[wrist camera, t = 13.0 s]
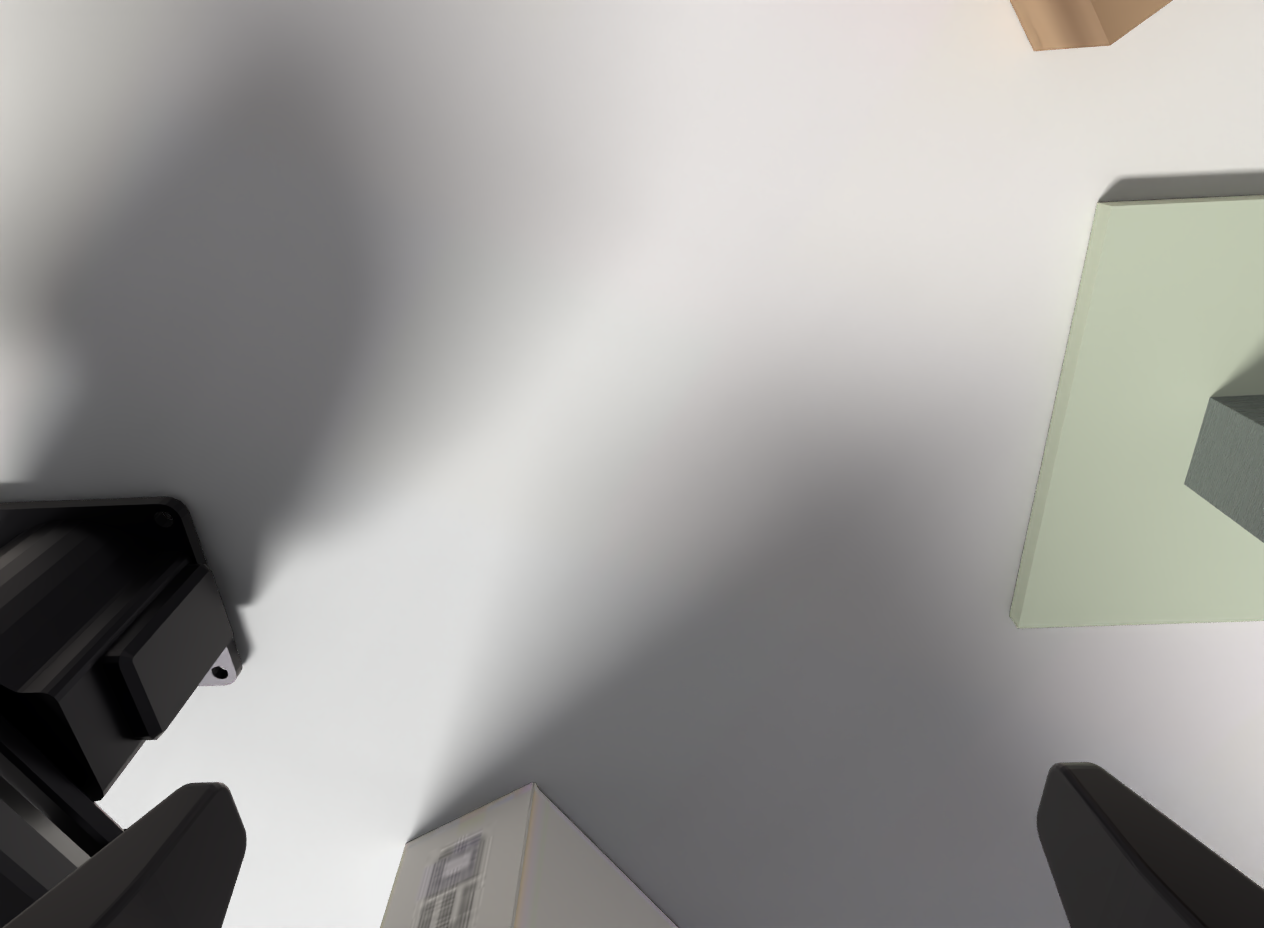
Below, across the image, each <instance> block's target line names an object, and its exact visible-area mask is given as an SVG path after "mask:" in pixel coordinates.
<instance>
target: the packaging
mask: <svg viewBox="0 0 1264 928" xmlns="http://www.w3.org/2000/svg"><path fill="white" fill-rule="evenodd" d="M380 928H678V927H677V926H676V925H675V924H674V923H673V922H672V921H671V920H670V919H669V918H668V917H667V916H666V915H665V914H664V913H663V912H662V911H661V910H660V909H659V908H658V907H657V906H656V905H655V904H654V903H653V902H652V901H651V900H650V899H649V898H648V897H647V896H646V895H645V894H644V893H643V892H642V891H641V890H640V889H639V888H638V887H637V886H636V885H635V884H634V883H633V882H632V881H631V880H630V879H629V878H628V877H627V876H626V875H625V874H624V873H623V872H622V871H621V870H620V869H619V868H618V867H617V866H616V865H615V864H614V863H613V862H612V861H611V860H610V859H609V858H608V857H607V856H606V855H605V854H603V853H602V852H601V851H600V850H599V849H598V848H597V847H596V846H595V845H594V844H593V843H592V842H591V841H590V840H589V839H588V838H587V837H586V836H585V835H584V834H583V833H582V832H581V831H580V830H579V829H578V828H577V827H576V826H575V825H574V824H573V823H572V822H571V821H570V820H569V819H568V818H567V817H566V816H565V815H564V814H563V813H562V812H561V811H560V810H559V809H558V808H557V807H556V806H555V805H554V804H553V803H552V802H551V801H550V800H549V799H548V798H547V797H546V796H545V795H544V794H543V793H542V792H541V791H540V790H539V789H538V787H537V785H536V783H533V782H532V783H530V784H528V785H526V786H524V787H522V788H519V789H517V790H515V791H513V792H511V793H509V794H507V795H505V796H503V797H501V798H499V799H497V800H495V801H493V802H491V803H488V804H486V805H484V806H482V807H480V808H478V809H476V810H474V811H472V812H470V813H468V814H466V815H464V816H462V817H460V818H457V819H455V820H453V821H451V822H449V823H447V824H445V825H443V826H441V827H439V828H437V829H435V830H433V831H431V832H429V833H426V834H424V835H422V836H420V837H418V838H416V839H414V840H412V841H410V842H408V843H406V845H405V848H404V851H403V854H402V858H401V861H400V864H399V868H398V871H397V874H396V877H395V881H394V884H393V887H392V890H391V894H390V897H389V900H388V904H387V907H386V910H385V913H384V917H383V920H382V923H381V926H380Z"/></svg>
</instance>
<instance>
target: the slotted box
mask: <svg viewBox="0 0 1264 928" xmlns="http://www.w3.org/2000/svg"><path fill="white" fill-rule="evenodd" d="M1171 1H1172V0H1010V2H1011V4H1012V6H1013V8H1014V10H1015V12H1016V14H1017V16H1018V19H1019V21H1020V23H1021V25H1022V27H1023V29H1024V31H1025V33H1026V35H1027V37H1028V40H1029V42H1030V44H1031V46H1032V48H1033V50H1034V51H1042V50H1056V49H1069V48H1082V47H1095V46H1109V45H1111V44H1113V43H1114V42H1116V41H1117V40H1118V39H1120V38H1121V37H1122V36H1124V35H1125V34H1127V33H1128V32H1129V31H1131V30H1132V29H1134V28H1135V27H1136V26H1138V25H1139V24H1141V23H1142V22H1143V21H1145V20H1146V19H1147V18H1149V17H1150V16H1152V15H1153V14H1154V13H1156V12H1157V11H1159V10H1160V9H1161V8H1163V7H1164V6H1165V5H1167V4H1168V3H1170V2H1171Z"/></svg>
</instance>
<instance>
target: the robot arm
mask: <svg viewBox="0 0 1264 928" xmlns="http://www.w3.org/2000/svg"><path fill="white" fill-rule="evenodd" d="M163 512H166V513H168V514H169V515H171V517H172V518H173V520H171V519H168V518H167V517H165V515H164V514H163ZM220 667H223V668H225V669H226V670H224V669H222V668H220ZM241 670H242V663H241V660H240V657H239V654H238V651H237V648H236V645H235V642H234V640H233V632H232V629H231V626H230V623H229V620H228V617H227V614H226V611H225V609H224V606H223V603H222V600H221V597H220V594H219V591H218V588H217V586H216V583H215V580H214V577H213V574H212V571H211V570H210V569H209V568H208V565H207V562H206V559H205V556H204V553H203V550H202V548H201V545H200V542H199V539H198V536H197V533H196V530H195V527H194V525H193V522H192V519H191V516H190V513H189V511H188V509H187V507H186V506H185V505H184V504H183V503H182V502H181V501H179V500H177V499H175V498H172V497H146V498H119V499H91V500H64V501H37V502H10V503H0V928H221V927H222V924H223V921H224V918H225V915H226V911H227V908H228V905H229V902H230V899H231V896H232V893H233V889H234V886H235V883H236V880H237V877H238V874H239V871H240V868H241V864H242V861H243V858H244V854H245V850H246V831H245V828H244V825H243V823H242V820H241V818H240V815H239V812H238V810H237V807H236V805H235V802H234V800H233V797H232V795H231V792H230V790H229V788H228V787H227V786H226V785H224V784H223V783H219V782H207V783H189V784H186V785H184V786H182V787H180V788H179V789H177V790H176V791H175V792H173V793H172V794H171V795H170V796H168V797H167V798H166V799H165V800H163V801H162V802H161V803H159V804H158V805H157V806H156V807H154V808H153V809H152V810H151V811H149V812H148V813H147V814H145V815H144V816H143V817H142V818H140V819H139V820H138V821H137V822H135V823H134V824H133V825H132V826H130V827H129V828H128V829H124V830H123V829H122V828H121V827H120V826H119V825H118V824H117V823H116V822H115V821H114V820H113V819H112V818H111V817H110V816H109V815H107V814H106V813H105V812H104V811H103V810H102V809H101V808H100V807H99V806H98V805H97V804H96V803H95V802H94V801H99V800H101V799H102V798H103V797H104V796H105V794H106V793H107V792H108V790H109V789H110V788H111V786H112V785H113V784H114V782H115V781H116V780H117V778H118V777H119V776H120V774H121V773H122V772H123V770H124V769H125V768H126V766H127V765H128V764H129V762H130V761H131V760H132V758H133V757H134V756H135V754H136V753H137V751H138V750H139V749H140V747H141V746H142V745H143V743H144V742H145V741H146V740H157V739H158V738H159V737H160V736H161V735H162V734H163V733H164V731H165V730H166V729H167V728H168V726H169V725H170V723H171V722H172V721H173V719H174V718H175V717H176V715H177V714H178V712H179V711H180V710H181V708H182V707H183V706H184V704H185V703H186V701H187V700H188V699H189V697H190V696H191V695H192V693H193V692H194V690H195V689H196V688H197V686H214V685H228V684H231V683H233V682H234V681H235V680H236V678H237V677H238V675H239V674H240V672H241ZM1037 830H1038V834H1039V838H1040V841H1041V844H1042V847H1043V850H1044V853H1045V856H1046V858H1047V861H1048V864H1049V867H1050V870H1051V873H1052V876H1053V878H1054V881H1055V884H1056V887H1057V890H1058V893H1059V896H1060V898H1061V901H1062V904H1063V907H1064V910H1065V913H1066V916H1067V918H1068V921H1069V924H1070V927H1071V928H1264V889H1263V888H1261V887H1260V886H1259V885H1257V884H1256V883H1255V882H1253V881H1252V880H1251V879H1249V878H1248V877H1247V876H1245V875H1244V874H1243V873H1241V872H1240V871H1239V870H1237V869H1236V868H1235V867H1233V866H1232V865H1231V864H1229V863H1228V862H1227V861H1225V860H1224V859H1223V858H1221V857H1220V856H1219V855H1217V854H1216V853H1215V852H1213V851H1212V850H1211V849H1209V848H1208V847H1207V846H1205V845H1204V844H1203V843H1201V842H1200V841H1199V840H1197V839H1196V838H1195V837H1193V836H1192V835H1191V834H1189V833H1188V832H1187V831H1185V830H1184V829H1183V828H1181V827H1180V826H1179V825H1177V824H1176V823H1175V822H1173V821H1172V820H1171V819H1169V818H1168V817H1167V816H1165V815H1164V814H1163V813H1161V812H1160V811H1159V810H1157V809H1156V808H1155V807H1153V806H1152V805H1151V804H1149V803H1148V802H1147V801H1145V800H1144V799H1143V798H1141V797H1140V796H1139V795H1137V794H1136V793H1135V792H1133V791H1132V790H1131V789H1129V788H1128V787H1127V786H1125V785H1124V784H1123V783H1121V782H1120V781H1119V780H1117V779H1116V778H1115V777H1113V776H1112V775H1111V774H1109V773H1108V772H1107V771H1105V770H1104V769H1102V768H1101V767H1099V766H1097V765H1095V764H1093V763H1089V762H1071V763H1056V764H1054V765H1053V766H1052V767H1051V768H1050V770H1049V772H1048V776H1047V779H1046V783H1045V787H1044V790H1043V794H1042V798H1041V801H1040V805H1039V808H1038V812H1037Z"/></svg>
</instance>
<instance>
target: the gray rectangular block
mask: <svg viewBox="0 0 1264 928" xmlns="http://www.w3.org/2000/svg"><path fill="white" fill-rule="evenodd" d="M1184 485H1186V486H1187V487H1189V488H1190V489H1191V490H1193V491H1194V492H1195V493H1197V494H1198V495H1199V496H1201V497H1202V498H1203V499H1205V500H1206V501H1208V502H1209V503H1210V504H1212V505H1213V506H1214V507H1216V508H1217V509H1218V510H1220V511H1221V512H1222V513H1224V514H1225V515H1226V516H1228V517H1229V518H1231V519H1232V520H1233V521H1235V522H1236V523H1237V524H1239V525H1240V526H1241V527H1243V528H1244V529H1245V530H1247V531H1248V532H1249V533H1251V534H1252V535H1254V536H1255V537H1256V538H1258V539H1259V540H1260V541H1262V542H1263V543H1264V395H1243V396H1223V397H1210V398H1209V402H1208V405H1207V408H1206V412H1205V415H1204V418H1203V422H1202V425H1201V428H1200V432H1199V435H1198V439H1197V442H1196V445H1195V449H1194V452H1193V455H1192V459H1191V462H1190V465H1189V469H1188V472H1187V476H1186V479H1185V482H1184Z"/></svg>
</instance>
